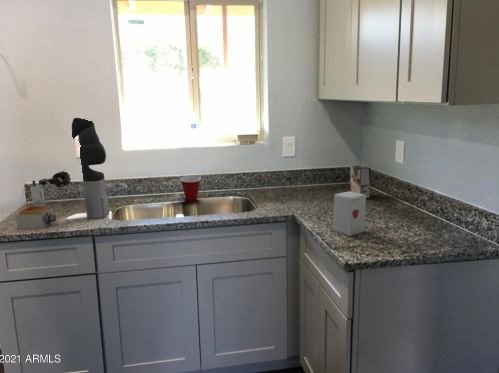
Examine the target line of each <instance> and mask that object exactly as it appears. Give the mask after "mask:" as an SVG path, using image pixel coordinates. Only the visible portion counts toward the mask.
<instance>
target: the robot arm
mask: <svg viewBox="0 0 499 373" xmlns="http://www.w3.org/2000/svg"><path fill="white" fill-rule="evenodd" d="M81 118H82V117H74V118H73V119H72V121H73V122H72V121H71V129H72V137H73V139H74V138H75V137H76V136H77V137H78V141H79V143H80V145H81V147H80V159H81V165H82V173H83V179H82V182H83V191H84V192H83V193H84V201H85V202H84V203H85V212H86V218H88V219H92V220H93V219H95V220H96V219H102V218H107V216H109V215H110V207H109V196H108V194H107V192H106V191H107V190H106V181H105V180H106V179H105V174H104V172H101V171H98V170H94V169H92V168H91V167H90V166H96V165H98V166H99V165H103V164H104V163H105V162H106V159H107V152H106V149H105V147H104V145H103V144H102V143H101V140H100V137H99V136H98V134H97V131H96V126H95V123H93V122H94V121H93V120H92V121H93V122H92V121H88V120H85V119H86V118H84V119H81ZM61 171H62V172H61ZM61 171H59V172H56V173H55V174H53V175H52V176H51V178H43V179H39V180H38V185H43V187H44V186H45V187H49V186H50V187H51V186H55V187H56V188H62V187H65V186H69V185H70V184H71V181H70V180H71V179H70V175H69V174H68V173H67V172H64V171H65V170H61Z"/></svg>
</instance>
